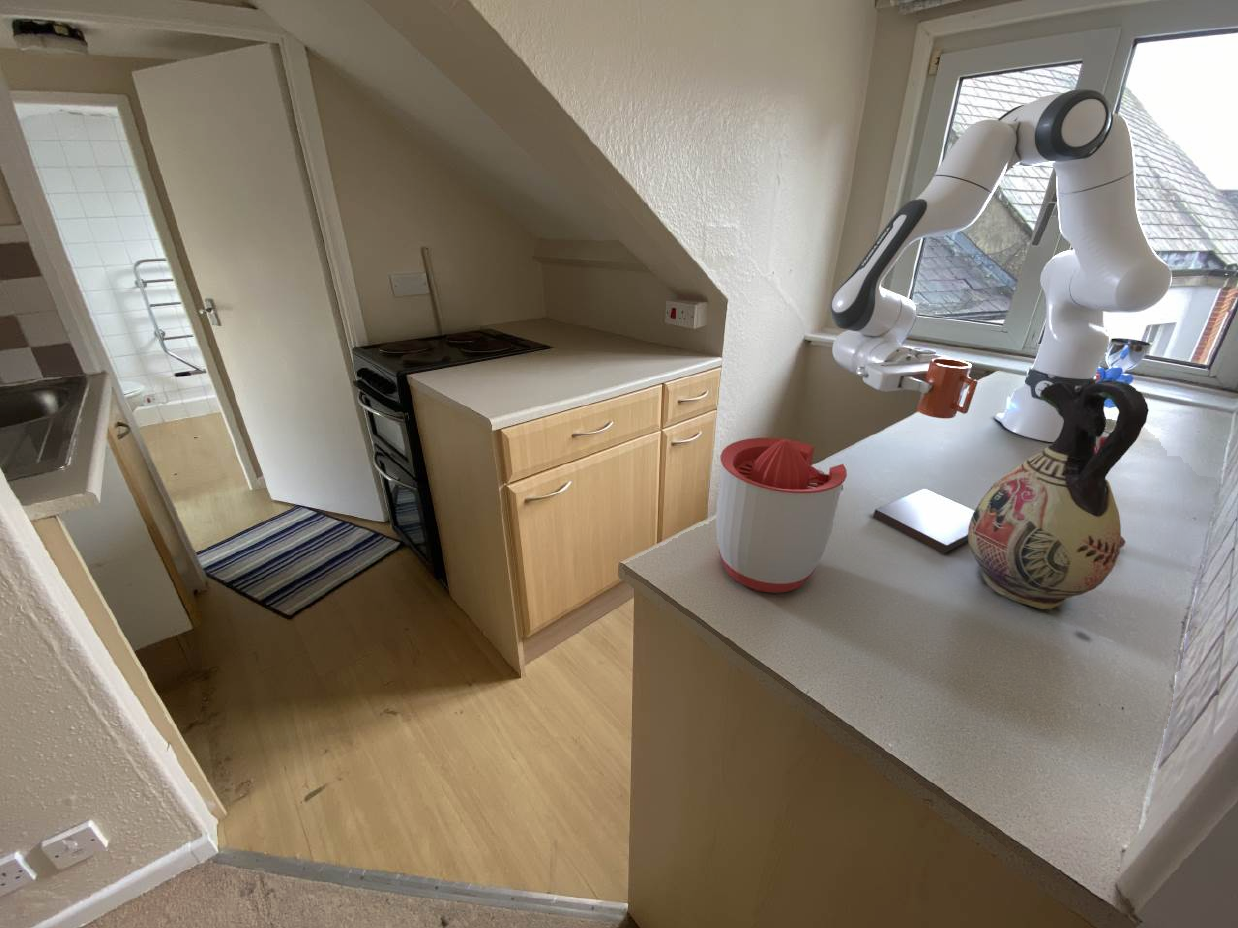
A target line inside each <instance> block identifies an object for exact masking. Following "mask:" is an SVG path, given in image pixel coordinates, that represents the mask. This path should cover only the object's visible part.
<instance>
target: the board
mask: <svg viewBox="0 0 1238 928" xmlns="http://www.w3.org/2000/svg"><path fill="white" fill-rule="evenodd" d="M974 511H975V510H974V509H972V508H969V507H967V506H964V505H963V504H960V503H958V502H955V501H954V500H951V499H949V498H946V497H944V496H942V495H940V494H937V493H935V492H934V491H931V490H928V489H927V488H922V489H920V490H918V491H915V492H913V493H910V494H908V495H905V496H904V497H901V498H899V499H896V500H894V501H891V502H889V503H887V504H884V505H882V506H880V507H877V508H875V509H874V512H873V516H872V517H873V518H875V519H877V520H879V521H880V522H883V523H884V524H886V525H887V526H890V527H892V528H894V529H896V530H898V531H899V532H901V533H903V534H906V535H907V536H909V537H911V538H913V539H915V540H917V541H918V542H921V543H923V544H924V545H926V546H928V547H930V548H932V549H934V550H936V551H938V552H940V553H942V554H947V553H948V552H950V551H952V550H954V549H956V548H958V547H960V546H962V545H964V544H965V543H967V542H968V529H969V524H970V520H971V517H972V515H973V513H974Z"/></svg>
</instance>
